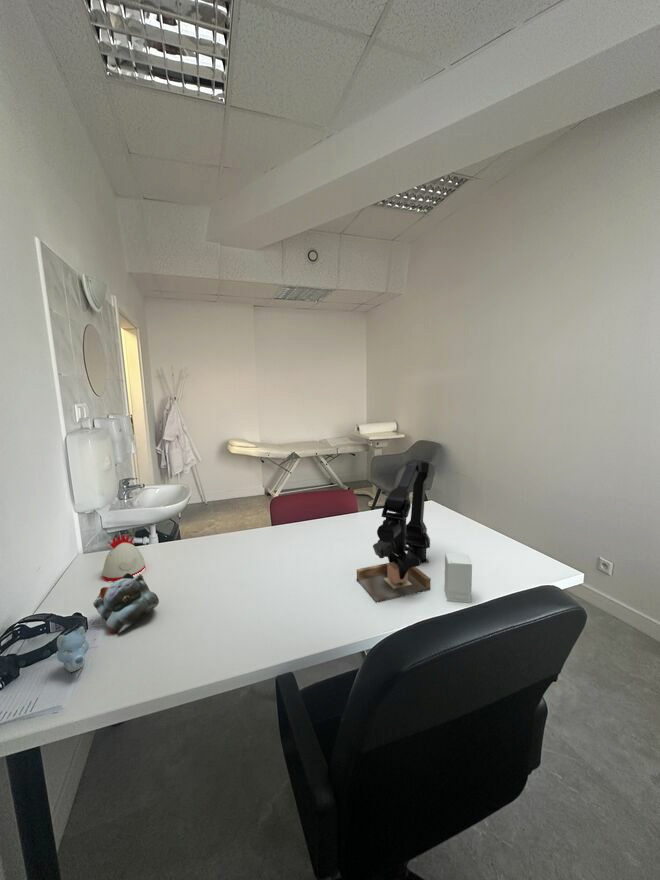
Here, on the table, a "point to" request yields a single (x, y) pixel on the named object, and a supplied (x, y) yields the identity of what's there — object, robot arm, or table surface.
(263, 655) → the table surface
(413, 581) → the arena
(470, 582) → the supplement box
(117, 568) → the kitchen timer
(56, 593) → the table surface
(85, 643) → the wolf head
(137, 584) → the lucky cat figurine
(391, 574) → the terracotta block
